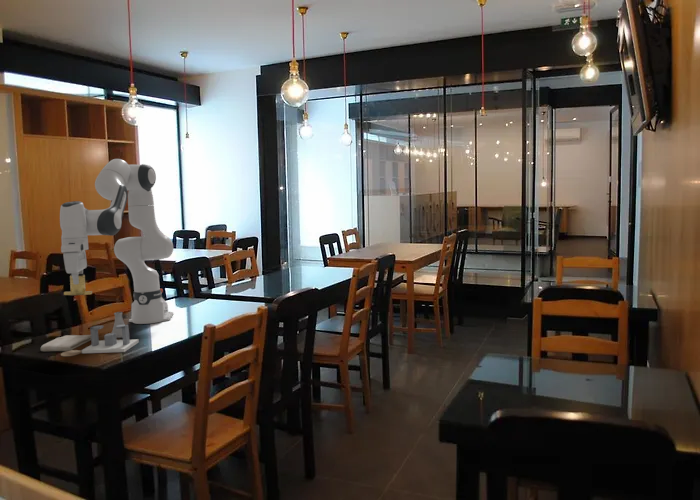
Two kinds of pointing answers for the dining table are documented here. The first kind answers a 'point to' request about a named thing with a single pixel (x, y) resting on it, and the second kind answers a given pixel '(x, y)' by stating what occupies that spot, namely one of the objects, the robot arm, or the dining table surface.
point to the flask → (118, 322)
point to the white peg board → (110, 341)
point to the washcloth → (65, 343)
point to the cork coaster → (71, 353)
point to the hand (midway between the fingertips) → (78, 283)
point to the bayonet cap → (78, 286)
